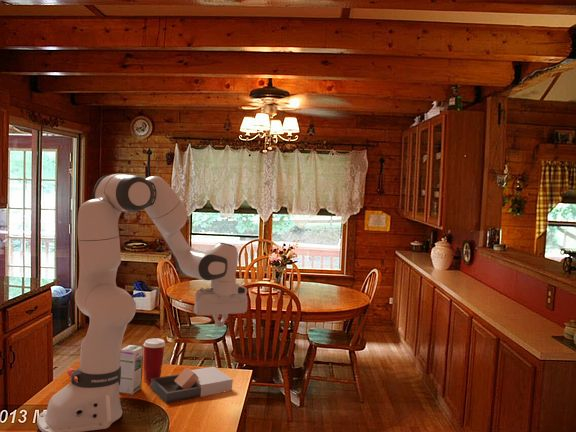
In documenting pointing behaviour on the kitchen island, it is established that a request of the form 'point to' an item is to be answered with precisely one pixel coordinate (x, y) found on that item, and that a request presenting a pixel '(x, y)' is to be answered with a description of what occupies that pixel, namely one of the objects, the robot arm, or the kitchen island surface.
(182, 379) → the tile
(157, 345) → the paper cup
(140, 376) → the syrup box
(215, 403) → the kitchen island surface
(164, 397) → the tray
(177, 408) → the kitchen island surface
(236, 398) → the kitchen island surface
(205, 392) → the flat white box
